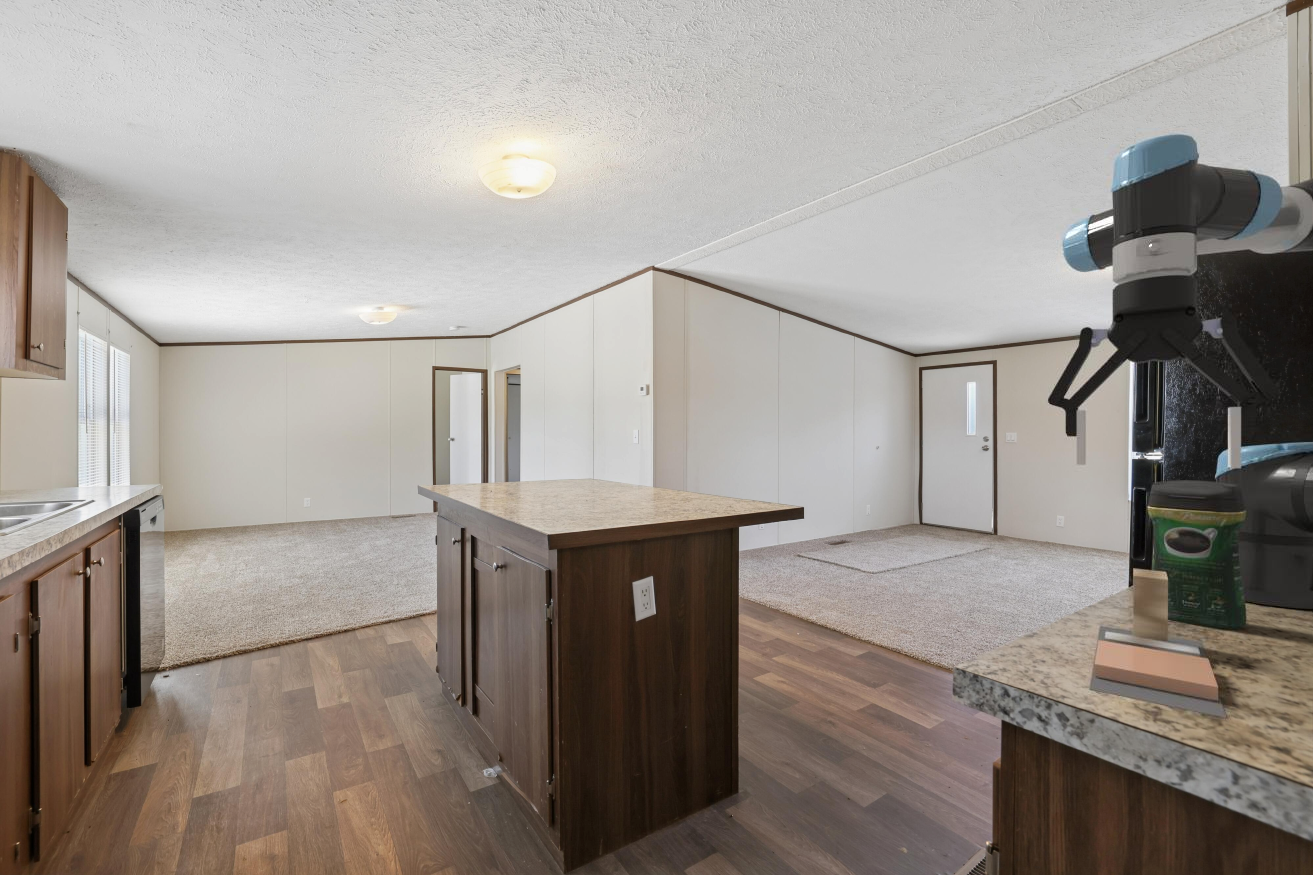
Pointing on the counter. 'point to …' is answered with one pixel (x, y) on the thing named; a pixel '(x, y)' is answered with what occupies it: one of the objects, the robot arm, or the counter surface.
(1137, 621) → the upright block with backplate
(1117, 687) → the mat
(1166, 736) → the counter surface
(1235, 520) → the coffee jar
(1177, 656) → the tile
